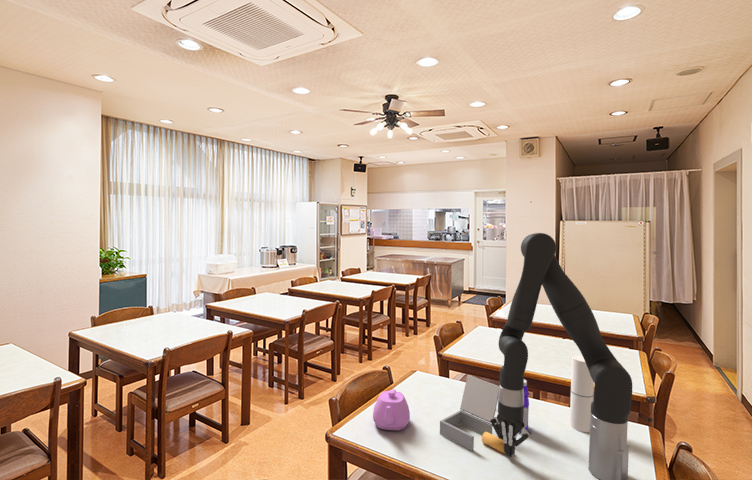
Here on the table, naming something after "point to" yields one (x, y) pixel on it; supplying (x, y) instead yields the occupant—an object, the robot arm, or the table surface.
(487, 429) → the hinged gray case
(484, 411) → the cover
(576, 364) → the cylindrical container
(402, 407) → the teapot
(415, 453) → the table surface
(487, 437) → the orange cylinder
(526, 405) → the bottle
